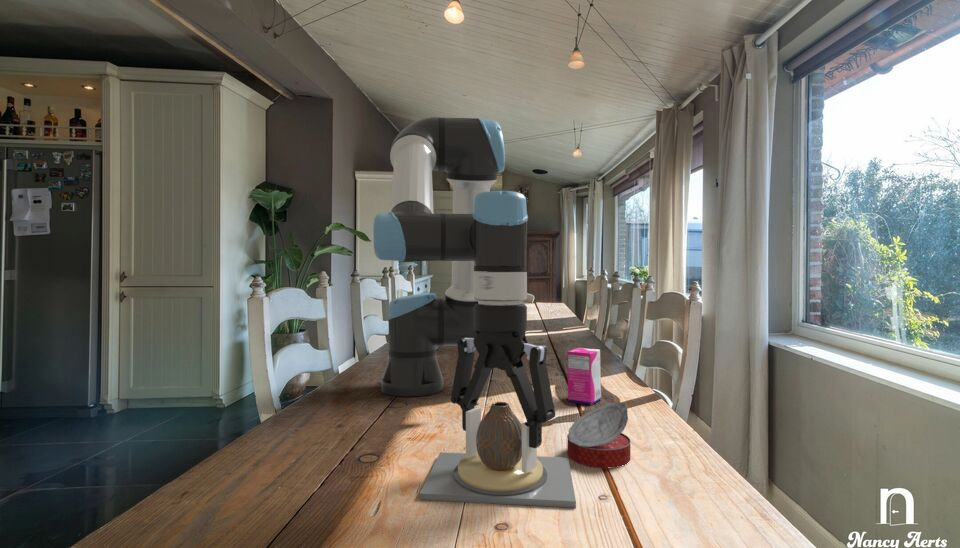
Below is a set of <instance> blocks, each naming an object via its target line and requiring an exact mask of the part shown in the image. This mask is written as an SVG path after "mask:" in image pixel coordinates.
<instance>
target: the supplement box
mask: <svg viewBox="0 0 960 548" xmlns="http://www.w3.org/2000/svg"><path fill="white" fill-rule="evenodd" d="M566 355H567V356H566V357H567V361H566V362H567V399H568V402H570V403H574V404H575V403H576V404H580V403H583V404H582V405H585V404H589V405H588V406H591V405H592V406H593V405H594V403H595V404H596V403H598V402H600V401H601V400H602V384H601V383H602V382H601V381H602V379H601V378H602V377H601V376H602V374H601V349H597V348H584V347H576V348H574V349H571V350H570V349H569V350H568V351H567V352H566ZM600 399H601V400H600ZM599 400H600V401H599ZM597 401H598V402H597Z"/></svg>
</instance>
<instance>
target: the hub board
mask: <svg viewBox="0 0 960 548" xmlns="http://www.w3.org/2000/svg"><path fill="white" fill-rule="evenodd" d="M569 459H570V458H569V457H559V456H558V457H556V456H537V467H536V468H534V469H533V470H531V471H530V472H528V473H527V474H526V473H523V472H522V458H521V460H520V461H519V462H518V464H517V465H516V466H515V467H513V468H512V469H510V470H506V471H496V470H492V469H489V468H488V467H487V466H486V465H485V464H484V463H483V462H482V461H481V459H480V457H479V455H478V453H477V454H475V455H473V456H471V457H468V456H466V452H464V453H463V452H461V453H460V452H445V451H443V452H441V451H440V452H439V454H438V456H437V458H436V459H435V462H434V464H433V466H432V468H431V470H430V472H429V473H428V476H427V478H426V480H425V481H424V484H423V486H422V488H421V490H420V492H419V500H422V501H423V500H425V501H444V502H445V501H446V502H464V503H479V504H480V503H481V504H482V503H483V504H498V505H500V504H502V505H518V506H520V505H521V506H537V507H538V506H539V507H555V508H561V507H562V508H571V509H572V508H574V509H575V508H577V500H576V495H575V489H574V483H573V477H572V470H571V466H570V460H569Z"/></svg>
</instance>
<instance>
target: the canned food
mask: <svg viewBox="0 0 960 548" xmlns="http://www.w3.org/2000/svg"><path fill="white" fill-rule="evenodd" d="M628 420H629V415H628V407H627V406H626V404H624V403H622V402H617V401H614V402H611V403H605V404H603V405H601V406H598V407H595V408H593V409H591V410H590V411H588V412H586V413H584V414H583V415H581V416H580V417H579V418H577V419H576V420H575V421H574V422H573V423H572V425H571V426H570V427H569V429H568V433H567V456H568V457H567V458H568V459H570V460H571V461H573V462H574V463H577V464H579V465H583V466H585V467H589V468H596V469H609V468H608V467H617V466H622V465H624V466H626V465H628V464H629V463H630V462H629V461H631V444H632V443H631V442H632V441H631V438H630V437H629V436H627V435H626V434H625V433H623V432H624V430H625V428H626V426H627V424H628ZM628 462H629V463H628ZM627 463H628V464H627ZM625 464H626V465H625ZM622 467H623V466H622ZM617 468H618V467H617Z"/></svg>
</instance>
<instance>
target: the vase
mask: <svg viewBox="0 0 960 548" xmlns="http://www.w3.org/2000/svg"><path fill="white" fill-rule="evenodd" d="M476 447H477V452H478V455H479V457H480V459H481V461H482V462H483V463H484V464H485V465H486V466H487V467H488V468H489V469H492V470H496V471H506V470H510V469H512V468H513V467H515V466H516V465H517V464H518V462H519V461H520V460H521V458H522V423H521V421H520V420H519V418H518V417H517V415H516V414H515V413H514V412H513V410H512V409H511V406H510V404H509V403H508V402H507V401H506V402H504V401H495V402H493V403H491V406H490V408H489V410H488V412H487V413H486V414H485V415H484V417H483V418H481V422H480V424H479V427H478V430H477V435H476Z"/></svg>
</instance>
